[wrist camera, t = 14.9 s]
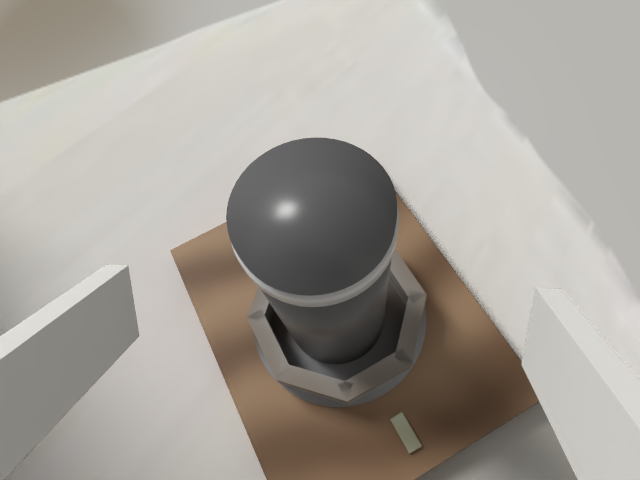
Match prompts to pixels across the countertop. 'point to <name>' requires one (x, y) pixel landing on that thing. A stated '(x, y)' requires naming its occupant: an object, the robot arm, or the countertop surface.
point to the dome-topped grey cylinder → (318, 242)
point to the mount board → (359, 368)
